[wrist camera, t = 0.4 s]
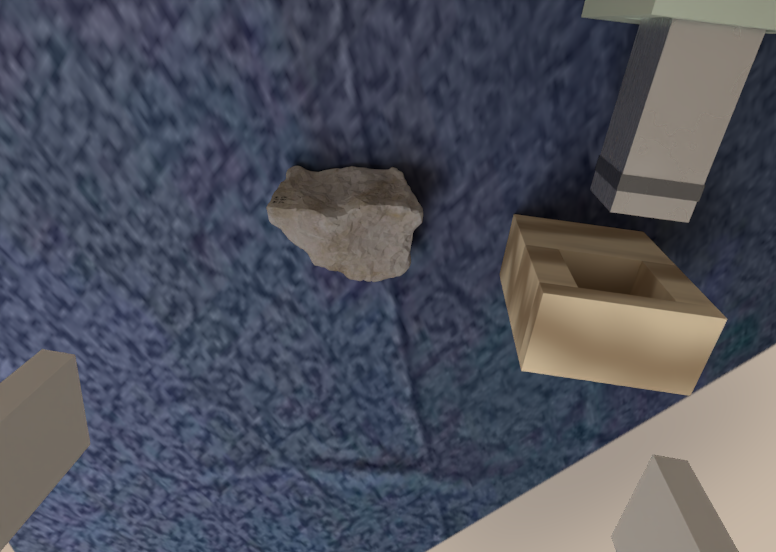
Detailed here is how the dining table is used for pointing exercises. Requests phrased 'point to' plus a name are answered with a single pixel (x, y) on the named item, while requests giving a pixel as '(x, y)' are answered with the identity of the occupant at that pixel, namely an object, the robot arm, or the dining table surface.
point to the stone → (349, 219)
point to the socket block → (604, 307)
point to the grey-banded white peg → (672, 115)
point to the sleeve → (687, 11)
